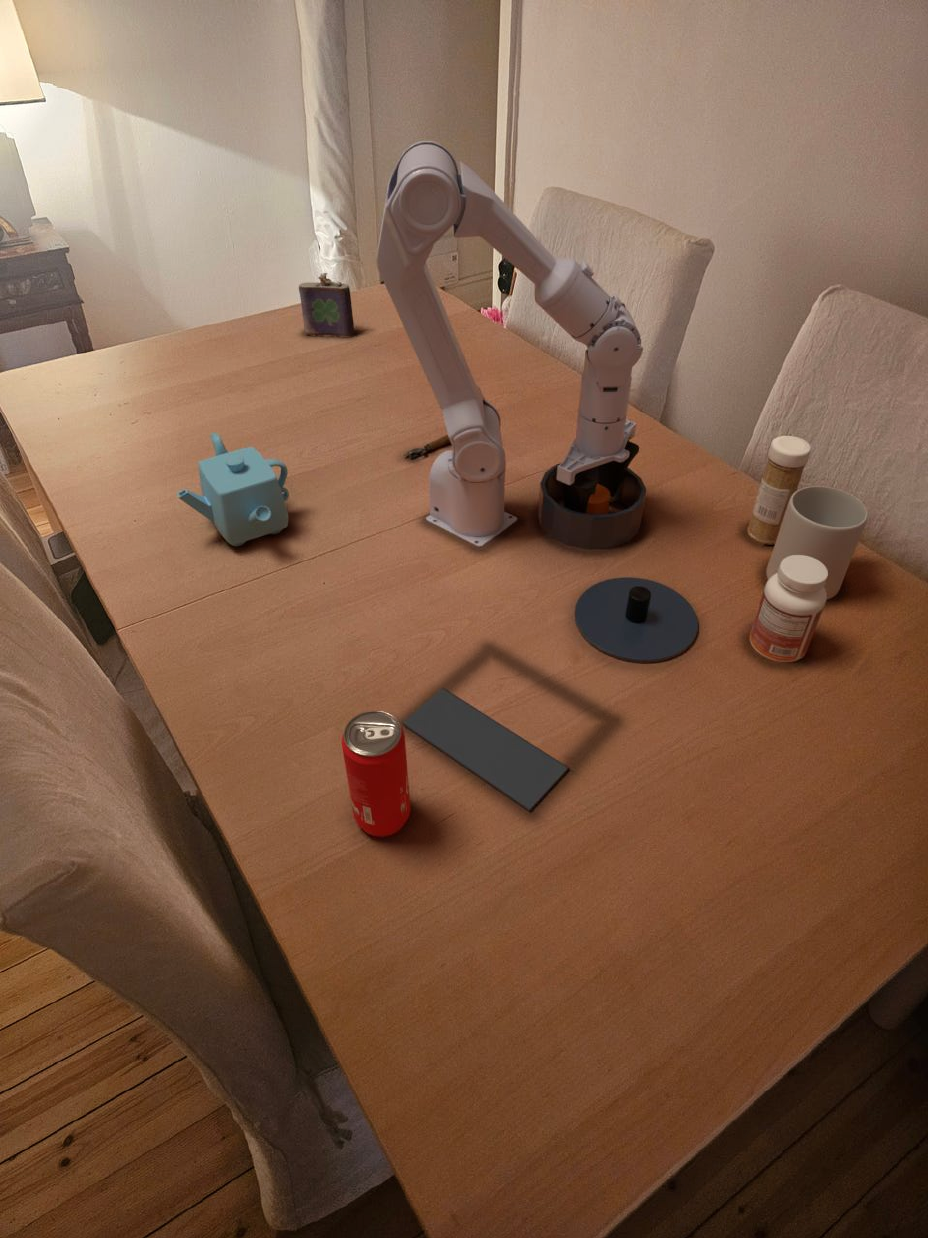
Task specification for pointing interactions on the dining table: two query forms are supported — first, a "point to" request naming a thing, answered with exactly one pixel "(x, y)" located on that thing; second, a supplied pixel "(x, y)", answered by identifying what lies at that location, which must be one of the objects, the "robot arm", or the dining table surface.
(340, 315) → the flask
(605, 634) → the pot lid
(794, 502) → the mug
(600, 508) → the pumpkin
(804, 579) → the pill bottle
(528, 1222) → the dining table surface
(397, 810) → the beverage can
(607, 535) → the pot
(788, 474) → the sprinkles bottle
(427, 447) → the can opener
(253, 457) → the teapot
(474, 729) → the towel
